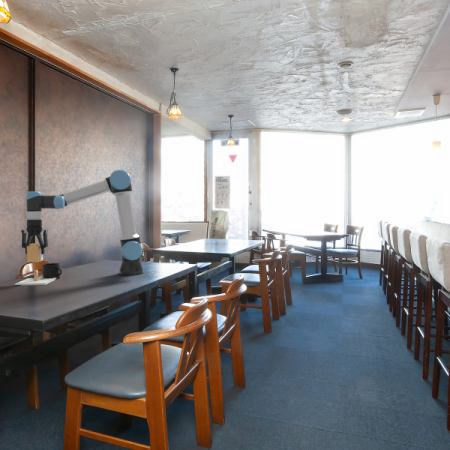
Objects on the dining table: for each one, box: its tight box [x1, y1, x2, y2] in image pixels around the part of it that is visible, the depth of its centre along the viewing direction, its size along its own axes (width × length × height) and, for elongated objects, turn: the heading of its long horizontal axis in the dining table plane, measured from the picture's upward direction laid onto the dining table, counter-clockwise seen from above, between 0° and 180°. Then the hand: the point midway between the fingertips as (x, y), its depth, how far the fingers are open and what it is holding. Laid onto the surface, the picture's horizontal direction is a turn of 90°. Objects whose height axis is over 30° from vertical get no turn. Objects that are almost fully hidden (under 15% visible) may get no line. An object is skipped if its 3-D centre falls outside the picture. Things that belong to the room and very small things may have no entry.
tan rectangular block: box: [26, 243, 44, 263], centre depth 209 cm, size 6×6×10 cm
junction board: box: [14, 269, 57, 286], centre depth 211 cm, size 16×20×7 cm
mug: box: [41, 262, 63, 280], centre depth 221 cm, size 9×12×9 cm
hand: (35, 259), depth 209 cm, fingers closed on tan rectangular block, 6 cm apart
